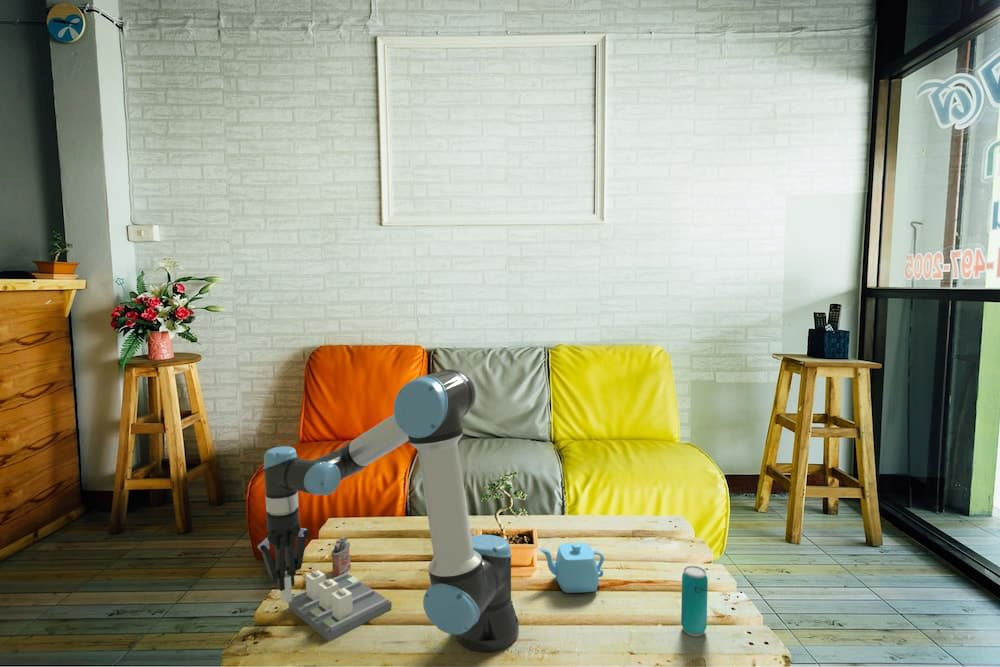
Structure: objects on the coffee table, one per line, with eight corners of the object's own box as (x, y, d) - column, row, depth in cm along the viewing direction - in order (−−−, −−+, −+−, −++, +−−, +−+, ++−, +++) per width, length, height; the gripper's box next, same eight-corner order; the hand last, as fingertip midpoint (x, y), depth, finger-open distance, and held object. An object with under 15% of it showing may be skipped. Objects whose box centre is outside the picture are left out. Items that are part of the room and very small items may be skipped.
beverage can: (711, 635, 134) (713, 575, 133) (690, 640, 133) (691, 579, 131) (696, 621, 140) (697, 563, 138) (676, 626, 138) (677, 567, 137)
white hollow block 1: (326, 595, 149) (325, 572, 149) (313, 600, 147) (312, 577, 146) (319, 590, 152) (318, 567, 151) (306, 595, 149) (305, 572, 148)
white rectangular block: (339, 604, 145) (338, 581, 144) (326, 610, 142) (325, 586, 142) (331, 599, 147) (330, 576, 147) (319, 605, 145) (318, 581, 144)
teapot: (536, 574, 163) (536, 536, 162) (598, 572, 164) (598, 534, 163) (542, 598, 151) (542, 557, 150) (609, 595, 152) (609, 554, 151)
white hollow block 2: (352, 614, 140) (352, 590, 140) (339, 621, 138) (338, 596, 137) (345, 609, 143) (344, 585, 142) (332, 615, 140) (331, 591, 140)
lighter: (340, 580, 161) (339, 546, 160) (329, 579, 162) (328, 545, 161) (353, 566, 169) (352, 534, 168) (342, 565, 170) (341, 533, 169)
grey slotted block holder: (391, 609, 147) (391, 598, 146) (328, 641, 134) (327, 629, 133) (349, 581, 160) (349, 571, 160) (288, 608, 147) (288, 597, 147)
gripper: (300, 498, 148) (303, 584, 150) (249, 513, 139) (254, 605, 141) (314, 506, 143) (317, 595, 145) (263, 522, 134) (267, 617, 136)
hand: (286, 600), depth 143 cm, fingers closed
